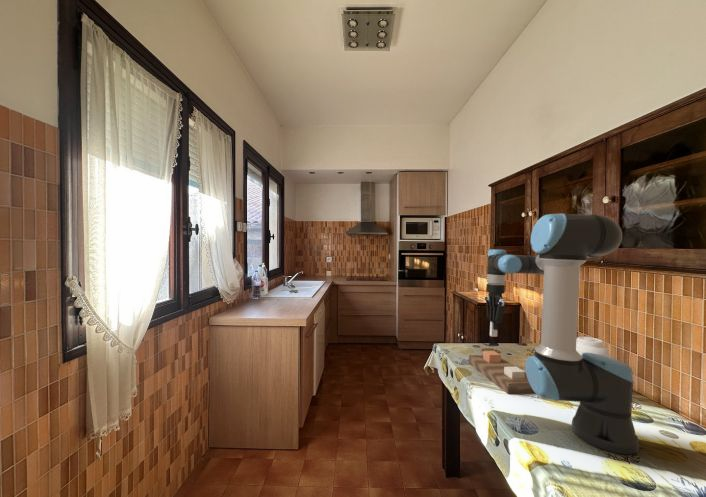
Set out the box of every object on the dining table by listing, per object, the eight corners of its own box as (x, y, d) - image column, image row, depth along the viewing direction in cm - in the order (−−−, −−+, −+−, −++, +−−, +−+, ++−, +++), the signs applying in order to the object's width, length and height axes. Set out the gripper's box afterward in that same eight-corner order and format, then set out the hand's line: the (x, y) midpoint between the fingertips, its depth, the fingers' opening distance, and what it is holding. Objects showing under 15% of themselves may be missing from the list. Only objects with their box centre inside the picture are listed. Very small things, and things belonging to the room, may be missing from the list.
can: (564, 380, 130) (566, 332, 130) (599, 385, 126) (601, 336, 126) (575, 393, 118) (577, 341, 118) (615, 399, 114) (617, 345, 114)
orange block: (500, 365, 137) (500, 354, 137) (489, 365, 136) (489, 354, 136) (493, 360, 142) (494, 350, 142) (482, 360, 141) (483, 351, 141)
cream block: (524, 383, 121) (524, 371, 121) (511, 383, 120) (512, 371, 120) (515, 377, 126) (516, 366, 126) (503, 377, 125) (504, 366, 125)
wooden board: (542, 393, 117) (542, 382, 117) (508, 394, 115) (508, 383, 115) (496, 363, 147) (497, 355, 147) (468, 363, 145) (469, 355, 145)
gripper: (512, 286, 132) (510, 340, 132) (495, 282, 145) (493, 331, 145) (496, 285, 131) (493, 340, 132) (480, 281, 144) (478, 331, 144)
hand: (493, 336), depth 138 cm, fingers closed
